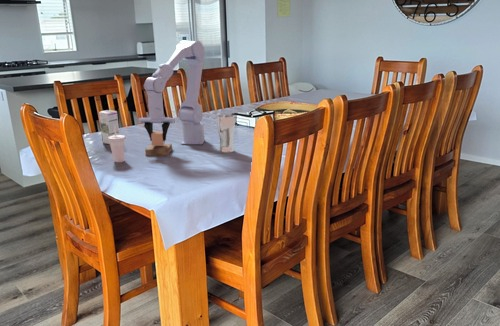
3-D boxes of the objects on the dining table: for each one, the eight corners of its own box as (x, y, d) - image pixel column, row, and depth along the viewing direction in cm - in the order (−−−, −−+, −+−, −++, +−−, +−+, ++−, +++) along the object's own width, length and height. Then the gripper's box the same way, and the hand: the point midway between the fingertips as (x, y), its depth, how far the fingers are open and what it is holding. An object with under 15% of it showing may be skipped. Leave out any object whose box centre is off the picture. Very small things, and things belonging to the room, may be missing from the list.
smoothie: (121, 157, 172) (117, 123, 168) (130, 160, 168) (127, 125, 164) (107, 161, 167) (103, 126, 163) (116, 164, 163) (113, 128, 159)
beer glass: (220, 154, 176) (219, 117, 171) (217, 149, 182) (215, 114, 178) (236, 152, 178) (236, 116, 173) (233, 148, 184) (232, 113, 179)
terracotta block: (164, 142, 180) (164, 131, 178) (162, 145, 175) (162, 133, 174) (154, 142, 180) (153, 131, 178) (151, 145, 175) (151, 133, 174)
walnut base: (172, 149, 183) (171, 143, 182) (167, 155, 174) (167, 149, 173) (151, 149, 183) (150, 143, 182) (145, 155, 174) (145, 149, 174)
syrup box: (120, 142, 194) (117, 110, 190) (110, 145, 190) (106, 112, 185) (112, 140, 197) (109, 109, 193) (101, 143, 193) (98, 111, 188)
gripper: (135, 109, 169) (138, 142, 173) (171, 109, 169) (173, 142, 173) (140, 106, 176) (142, 138, 180) (175, 106, 176) (177, 138, 180)
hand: (158, 140), depth 177 cm, fingers closed on terracotta block, 5 cm apart
